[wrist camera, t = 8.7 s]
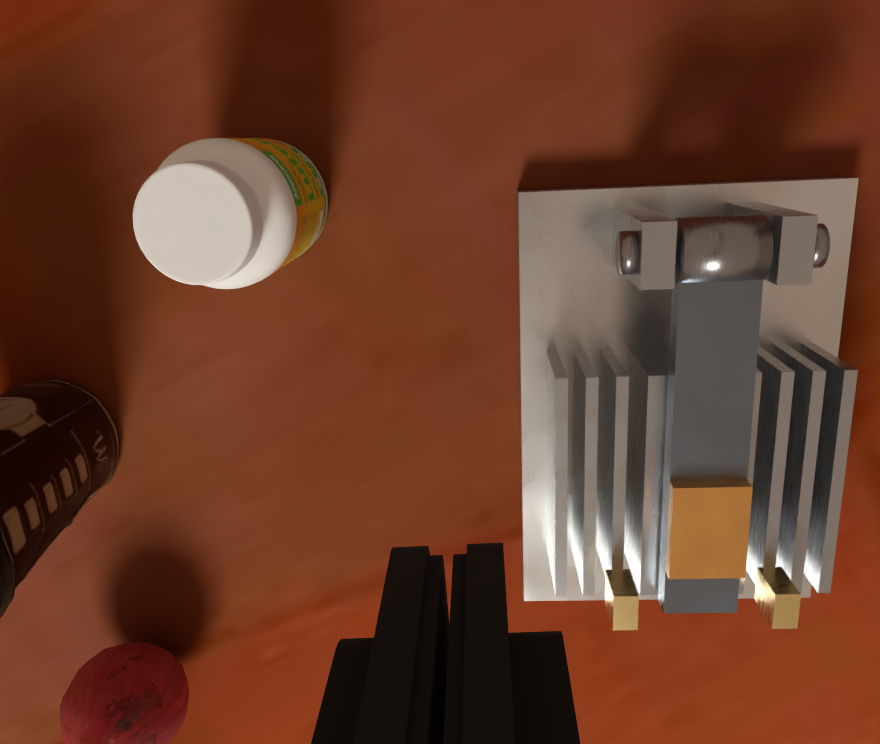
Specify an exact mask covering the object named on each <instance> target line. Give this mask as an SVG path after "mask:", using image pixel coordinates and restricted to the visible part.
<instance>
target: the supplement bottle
mask: <svg viewBox="0 0 880 744" xmlns="http://www.w3.org/2000/svg"><path fill="white" fill-rule="evenodd" d="M327 209H328V200H327V192H326V188H325V185H324V182H323V179H322V177H321V175H320V173H319V171H318V170H317V168H316V167H315V165H314V164H313V163H312V162H311V160H310V159H309V158H308V157H307V156H306V155H304V154H303V153H302V152H301V151H299V150H298V149H296V148H295V147H293V146H291V145H289V144H287V143H285V142H282V141H278V140H273V139H267V138H209V139H202V140H198V141H194V142H191V143H189V144H186V145H184V146H182V147H180V148H179V149H177V150H176V151H174V152H173V153H172V154H170V155H169V156H168V157H167V158H166V159H165V160H164V161H163V162H162V164H161V165H160V166H159V168H158V169H157V171H156V172H155V173H153V174H152V175H151V176H150V177H149V178H148V179H147V180H146V181H145V182H144V184H143V185H142V187H141V188H140V190H139V192H138V195H137V197H136V200H135V203H134V209H133V227H134V232H135V236H136V239H137V242H138V244H139V246H140V248H141V250H142V252H143V253H144V255H145V256H146V258H147V259H148V260H149V261H150V262H151V264H152V265H153V266H154V267H155V268H157V269H158V270H159V271H160V272H162V273H163V274H164V275H166V276H168V277H170V278H172V279H174V280H176V281H179V282H182V283H185V284H191V285H204V286H208V287H212V288H218V289H235V288H241V287H246V286H249V285H252V284H254V283H257V282H259V281H261V280H263V279H265V278H266V277H268V276H269V275H271V274H273V273H274V272H276V271H277V270H278V269H280V268H281V267H283V266H284V265H286V264H288V263H289V262H291V261H292V260H294V259H295V258H297V257H298V256H300V255H301V254H303V253H304V252H305V251H306V250H308V249H309V248H310V247H311V246H312V245H313V244H314V242H315V241H316V240H317V238H318V237H319V235H320V233H321V231H322V229H323V227H324V224H325V221H326V216H327Z"/></svg>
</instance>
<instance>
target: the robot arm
mask: <svg viewBox="0 0 880 744" xmlns="http://www.w3.org/2000/svg"><path fill="white" fill-rule="evenodd" d="M311 744H580V739H579V733H578V727H577V721H576V715H575V709H574V702H573V696H572V690H571V684H570V678H569V672H568V665H567V659H566V653H565V647H564V641H563V636H562V632H561V631H550V632H522V633H508V618H507V602H506V585H505V569H504V552H503V543H484V544H467V554H456V555H453V571H452V589H451V608H450V625H449V614H448V603H447V592H446V581H445V570H444V560H443V556H442V555H433V556H430V551H429V547H428V546H417V547H394V548H392V550H391V553H390V559H389V564H388V569H387V574H386V579H385V584H384V589H383V594H382V600H381V605H380V610H379V615H378V620H377V625H376V630H375V636H374V638H354V639H341V640H340V641H339V642H338V645H337V647H336V650H335V654H334V658H333V662H332V666H331V670H330V673H329V677H328V681H327V685H326V689H325V693H324V696H323V700H322V704H321V708H320V712H319V716H318V719H317V723H316V727H315V731H314V735H313V738H312V742H311Z"/></svg>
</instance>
